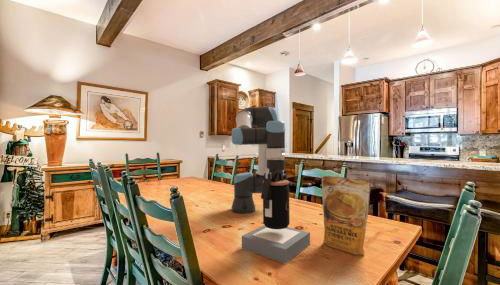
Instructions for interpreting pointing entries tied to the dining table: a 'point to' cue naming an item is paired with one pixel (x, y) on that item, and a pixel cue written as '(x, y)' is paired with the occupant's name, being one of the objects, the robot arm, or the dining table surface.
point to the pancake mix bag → (345, 213)
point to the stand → (276, 242)
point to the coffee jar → (278, 206)
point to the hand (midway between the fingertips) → (276, 213)
